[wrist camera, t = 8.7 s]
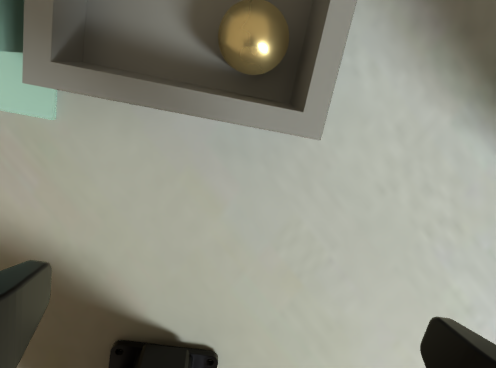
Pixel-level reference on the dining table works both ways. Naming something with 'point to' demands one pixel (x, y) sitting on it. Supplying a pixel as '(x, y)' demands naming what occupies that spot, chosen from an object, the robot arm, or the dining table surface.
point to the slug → (253, 36)
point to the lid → (19, 68)
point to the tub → (187, 59)
